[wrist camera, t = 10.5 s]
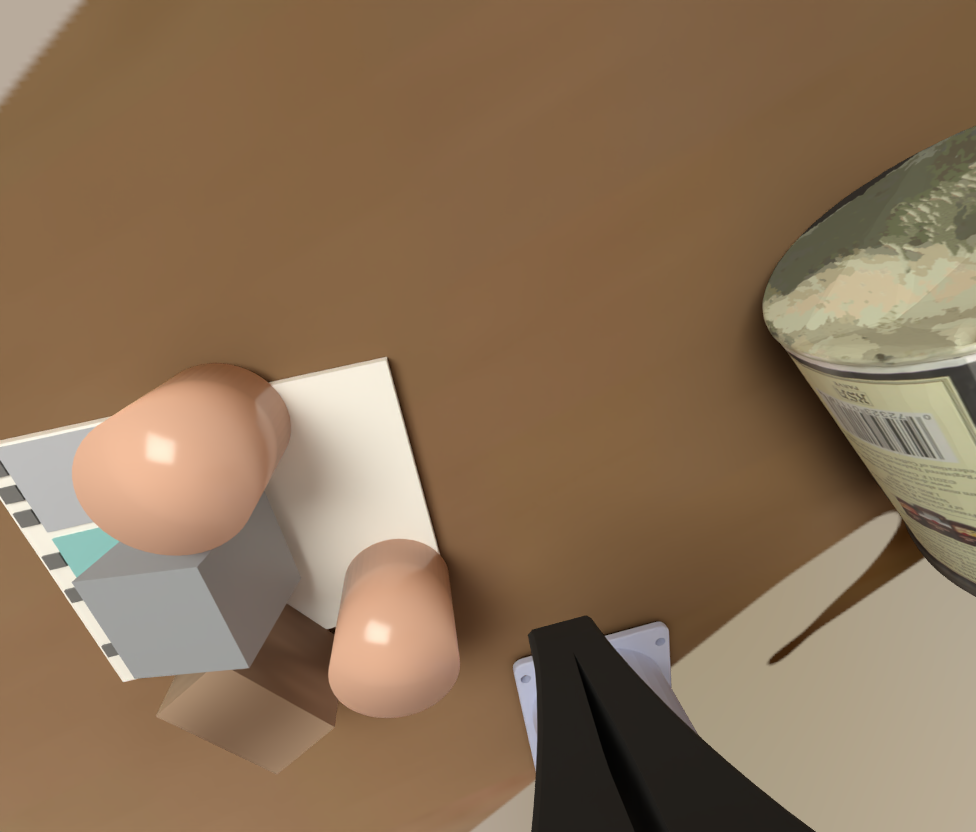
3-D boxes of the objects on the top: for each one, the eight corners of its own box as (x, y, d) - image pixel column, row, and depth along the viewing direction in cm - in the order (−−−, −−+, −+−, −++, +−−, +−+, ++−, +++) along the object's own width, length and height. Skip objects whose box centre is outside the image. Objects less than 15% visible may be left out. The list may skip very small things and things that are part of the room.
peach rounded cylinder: (458, 608, 22) (470, 698, 17) (360, 633, 21) (350, 731, 17) (436, 527, 20) (445, 606, 16) (330, 553, 20) (310, 641, 15)
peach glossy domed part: (307, 463, 18) (278, 533, 14) (187, 491, 18) (120, 571, 14) (266, 350, 16) (218, 392, 12) (132, 379, 16) (36, 431, 12)
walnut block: (344, 641, 21) (334, 727, 18) (296, 681, 22) (276, 774, 18) (251, 580, 19) (218, 662, 16) (199, 625, 20) (155, 716, 16)
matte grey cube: (301, 578, 19) (249, 667, 15) (207, 589, 19) (134, 678, 16) (264, 490, 17) (196, 567, 14) (163, 504, 18) (71, 582, 14)
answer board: (449, 589, 22) (450, 599, 21) (129, 671, 21) (121, 684, 20) (386, 356, 18) (385, 361, 17) (-20, 444, 16) (-35, 452, 16)
